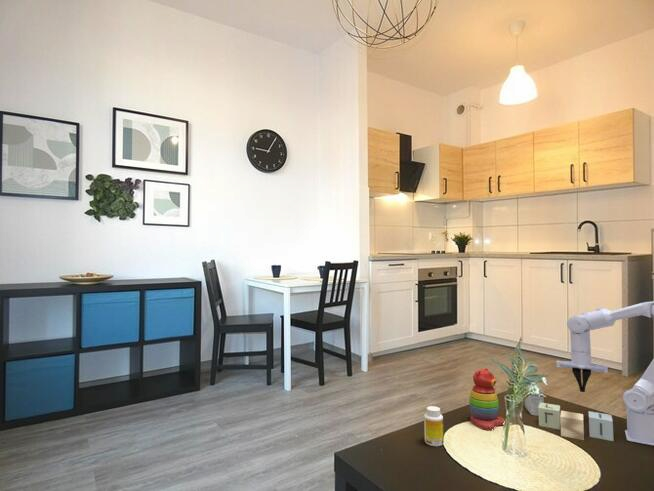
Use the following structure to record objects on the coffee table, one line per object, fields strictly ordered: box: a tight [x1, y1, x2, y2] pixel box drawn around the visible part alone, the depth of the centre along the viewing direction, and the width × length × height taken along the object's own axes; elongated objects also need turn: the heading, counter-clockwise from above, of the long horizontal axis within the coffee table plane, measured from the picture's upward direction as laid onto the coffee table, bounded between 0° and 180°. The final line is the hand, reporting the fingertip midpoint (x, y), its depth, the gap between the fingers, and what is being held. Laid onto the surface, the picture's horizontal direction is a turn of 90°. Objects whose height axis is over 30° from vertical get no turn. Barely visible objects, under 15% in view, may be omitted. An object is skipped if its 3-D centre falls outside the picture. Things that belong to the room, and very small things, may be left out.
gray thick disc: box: [524, 389, 545, 417], centre depth 142 cm, size 8×4×9 cm, turn 168°
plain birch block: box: [560, 410, 585, 441], centre depth 123 cm, size 6×6×6 cm
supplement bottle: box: [423, 405, 444, 447], centre depth 118 cm, size 6×6×10 cm
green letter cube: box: [538, 402, 561, 431], centre depth 131 cm, size 6×6×6 cm
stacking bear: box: [468, 367, 506, 431], centre depth 133 cm, size 11×10×18 cm
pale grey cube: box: [588, 410, 615, 442], centre depth 122 cm, size 6×6×6 cm
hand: (582, 391), depth 133 cm, fingers closed
